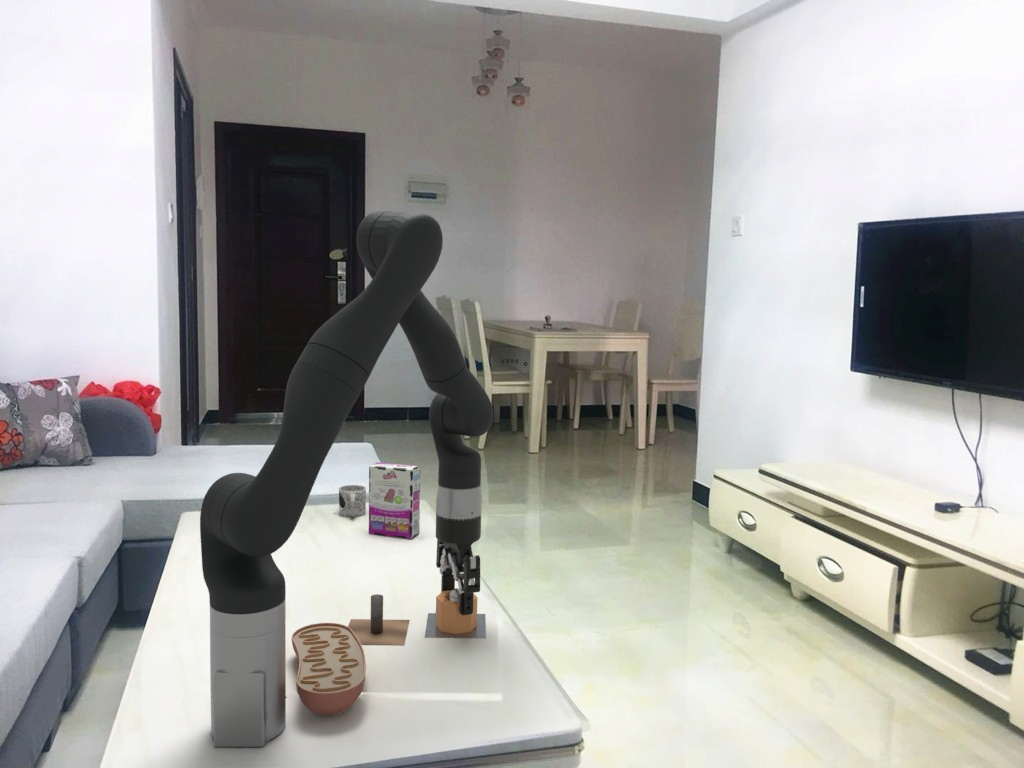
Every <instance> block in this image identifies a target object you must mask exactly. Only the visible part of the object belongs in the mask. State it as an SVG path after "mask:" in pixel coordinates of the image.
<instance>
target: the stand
mask: <svg viewBox="0 0 1024 768" xmlns="http://www.w3.org/2000/svg"><path fill="white" fill-rule="evenodd" d="M410 621H411V620H410V619H384V595H383V594H378V593H377V594H372V595H371V596H370V619H363V618H362V619H361V618H359V619H358V618H350V620H349V623H348V625H347V627H349V628H350V629H351V630H352V631H353V632H354V634H355V635H356V636H357V638H358V639H359V641H360V643H361V645H362V646H399V647H400V646H401V647H402V646H405V645H406V640H407V639H406V638H407V634H408V630H409V624H410Z"/></svg>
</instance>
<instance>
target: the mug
mask: <svg viewBox="0 0 1024 768" xmlns="http://www.w3.org/2000/svg"><path fill="white" fill-rule="evenodd" d="M366 490H367V488H366V486H363V485H359V484H350V485H349V484H348V485H343V486H340V487H339V488H338V515H339V516H341V517H344V518H358V517H363V516H365V515H366V513H367V512H366V507H367V506H366V504H367V503H366V502H367V498H366V496H367V495H366V494H367V491H366Z"/></svg>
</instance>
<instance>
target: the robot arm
mask: <svg viewBox="0 0 1024 768" xmlns="http://www.w3.org/2000/svg"><path fill="white" fill-rule="evenodd" d="M443 239H444V238H443V231H442V228H441V225H440V223H439V222H438V221H437V220H436V219H435V217H433V216H431V215H429V214H426V213H422V212H417V211H401V210H376V211H373V212H370V213H368V214H367V215H365V217H364V218H363V219H362V220H361V222H360V223H359V226H358V228H357V232H356V248H357V249H356V250H357V253H358V255H359V258H360V260H361V263H362V264H363V267H364V268H365V270H366V271H367V273H368V275H369V276H370V278H371V279H372V280H371V281H370V282H369V284H367V286H366V287H365V288H364V290H362V292H361V293H360V294H359V295H358V296H357V297H355V298H354V299H353V300H351V301H350V302H349V303H348V304H346V305H345V306H344V307H342V308H341V309H340V310H338V311H337V312H336V313H335V314H333V316H331V317H330V318H329V319H327V320H326V321H325V322H324V323H323V324H322V325H321V326H320V327H319V328H318V329H317V330H316V331H315V332H314V333H313V335H312V336H311V337H310V339H309V340H308V341H307V343H306V345H305V347H304V349H303V350H302V353H301V354H300V356H299V357H298V359H297V361H296V362H295V365H294V366H293V368H292V370H291V372H290V375H289V377H288V379H287V380H288V381H287V384H286V389H285V395H284V402H283V409H282V410H283V412H282V420H281V426H280V430H279V434H278V436H277V439H276V441H275V443H274V446H273V448H272V450H271V451H270V453H269V455H268V457H267V458H266V460H265V462H264V463H263V465H262V467H261V469H260V470H259V472H258V473H257V475H256V476H255V475H253V474H249V473H245V472H231V473H228V474H226V475H223V476H221V477H220V478H219V477H218V479H217V480H215V481H214V482H213V483H212V485H210V486H209V488H208V489H207V491H206V493H205V495H204V497H203V500H202V504H201V509H200V514H199V515H200V518H199V530H200V532H199V535H200V548H201V549H200V552H201V553H200V554H201V569H202V576H203V580H204V583H205V584H206V587H207V591H208V595H209V654H210V655H209V658H210V659H209V660H210V663H209V665H210V666H209V667H210V676H209V677H210V680H209V681H210V734H211V737H212V739H213V746H214V747H239V748H241V747H256V748H258V747H259V748H260V747H264V746H265V745H266V744H267V742H268V741H271V740H272V739H274V738H276V737H277V736H278V735H279V734H281V733H282V732H283V731H284V729H285V727H286V723H287V722H286V721H287V720H286V718H287V717H286V716H287V715H286V713H287V712H286V711H287V709H286V705H287V701H286V699H287V697H286V696H287V694H286V691H287V689H286V686H287V684H286V681H287V680H286V674H287V673H286V671H287V670H286V665H287V663H286V649H287V648H286V617H287V615H286V610H287V609H286V608H287V606H286V604H287V603H286V579H285V576H284V574H283V573H282V571H281V570H280V569H279V567H278V565H277V564H276V563H275V560H274V558H273V556H272V554H273V553H275V552H277V551H278V550H279V549H280V548H282V547H283V546H284V544H285V543H286V542H287V541H288V540H289V539H290V537H291V536H292V534H293V533H294V530H295V529H296V527H297V526H298V523H299V521H300V519H301V516H302V514H303V512H304V509H305V508H306V504H307V502H308V499H309V497H310V495H311V492H312V489H313V487H314V485H315V482H316V480H317V478H318V475H319V473H320V471H321V468H322V466H323V464H324V462H325V460H326V457H327V456H328V454H329V452H330V450H331V448H332V446H333V444H334V443H335V441H336V439H337V436H338V434H339V433H340V430H341V429H342V427H343V425H344V423H345V421H346V419H347V417H348V415H349V413H350V412H351V410H352V409H353V406H354V405H355V403H356V401H357V400H358V398H359V397H360V395H361V393H362V391H363V389H364V388H365V386H366V383H367V382H368V380H369V378H370V376H371V374H372V372H373V370H374V367H375V366H376V364H377V361H378V360H379V358H380V356H381V354H382V352H383V351H384V349H385V348H386V346H387V344H388V342H389V341H390V339H391V337H392V335H393V334H394V332H395V331H396V329H397V327H398V324H399V325H400V328H401V329H402V331H403V333H404V335H405V336H406V338H407V341H408V343H409V345H410V347H411V349H412V351H413V353H414V357H415V360H416V363H417V365H418V367H419V369H420V371H421V375H422V376H423V379H424V382H425V383H426V385H427V387H428V388H429V389H430V390H431V391H432V392H434V393H436V394H435V396H434V397H433V398H432V401H431V403H430V406H429V409H428V411H429V412H428V418H429V419H428V420H429V422H428V423H429V427H430V430H431V435H432V438H433V443H434V446H435V450H436V455H437V458H438V459H437V460H438V471H437V472H438V474H437V475H438V477H437V480H438V482H437V483H438V484H437V491H436V501H435V503H436V505H435V538H436V560H435V561H436V563H435V565H436V566H435V567H436V568H438V569H439V574H440V575H441V581H440V582H441V584H440V585H441V588H440V589H441V590H440V591H441V592H443V591H449V590H453V589H455V588H456V584H455V583H456V582H457V584H458V585H457V586H458V588H459V591H460V592H459V613H460V614H461V615H469V614H472V613H473V594H474V595H475V593H480V591H481V557H480V555H479V554H478V555H474V553H473V550H472V545H473V544H474V543H475V542H478V541H479V540H480V539H481V537H482V535H481V533H482V528H481V527H482V506H483V505H482V504H483V503H482V498H483V497H482V490H481V489H482V488H481V487H482V486H481V484H482V483H481V479H482V475H481V474H482V473H481V472H482V457H481V455H480V453H479V452H478V451H477V450H475V449H474V448H471V447H469V446H467V445H466V443H464V442H463V439H462V437H461V436H466V437H471V438H472V437H473V438H474V437H481V436H483V435H485V434H486V433H488V432H489V430H490V428H491V427H492V425H493V424H492V423H493V420H494V409H493V404H492V402H491V400H490V397H489V395H488V394H487V392H486V391H485V389H484V388H483V386H482V385H481V384H480V381H478V379H477V378H476V376H475V375H474V373H472V371H471V370H470V369H469V368H468V366H467V363H466V360H465V357H464V354H463V352H462V349H461V346H460V343H459V340H458V339H457V336H456V334H455V332H454V331H453V329H452V327H451V326H450V325H449V323H448V321H446V319H445V318H444V317H443V316H442V314H440V313H439V311H438V310H437V309H436V307H434V305H433V304H432V303H431V302H430V301H429V299H428V298H427V296H425V294H424V292H423V291H422V289H423V287H424V285H425V284H426V283H427V281H428V280H429V279H430V277H431V275H432V274H433V272H434V270H435V268H436V267H437V265H438V263H439V260H440V256H441V255H442V250H443V242H444V241H443ZM455 581H456V582H455ZM441 592H440V593H441Z"/></svg>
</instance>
